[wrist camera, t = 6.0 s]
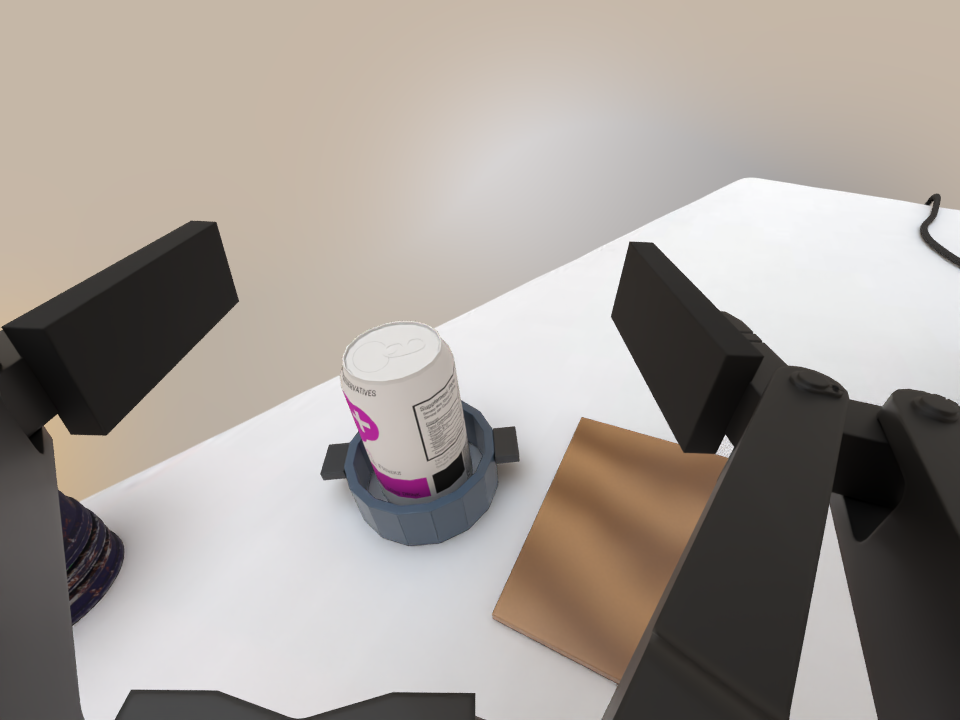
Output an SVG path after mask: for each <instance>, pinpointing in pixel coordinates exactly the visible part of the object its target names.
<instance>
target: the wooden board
mask: <svg viewBox="0 0 960 720" xmlns="http://www.w3.org/2000/svg"><path fill="white" fill-rule="evenodd" d="M727 460H728V458H727V457H723V456H719V455H716V454H700V453H683V451H682V449H681V447H680V445H679V444H677V443H673V442H669V441H666V440H662V439H659V438H655V437H652V436H648V435H644V434H641V433H637V432H634V431H630V430H627V429H623V428H619V427H616V426H612V425H609V424H605V423H602V422H598V421H594V420H591V419H587V418H584V417H582V418H581V420H580V422H579V424H578V426H577V429H576V431H575V433H574V435H573V437H572V440H571V442H570V444H569V446H568V448H567V451H566V453H565V455H564V457H563V459H562V462H561V464H560V466H559V468H558V470H557V473H556V475H555V477H554V479H553V481H552V483H551V486H550V488H549V490H548V492H547V494H546V497H545V499H544V501H543V503H542V505H541V508H540V510H539V512H538V514H537V516H536V519H535V521H534V523H533V525H532V527H531V530H530V532H529V534H528V536H527V538H526V541H525V543H524V545H523V547H522V549H521V552H520V554H519V556H518V558H517V560H516V563H515V565H514V567H513V569H512V571H511V574H510V576H509V578H508V580H507V582H506V584H505V587H504V589H503V591H502V593H501V595H500V598H499V600H498V602H497V604H496V606H495V609H494V611H493V613H492V615H493V619H495V620H497V621H499V622H500V623H502V624H504V625H506V626H508V627H510V628H512V629H514V630H516V631H518V632H520V633H522V634H524V635H525V636H527V637H529V638H531V639H533V640H535V641H537V642H539V643H541V644H543V645H545V646H547V647H548V648H550V649H552V650H554V651H556V652H558V653H560V654H562V655H564V656H566V657H568V658H570V659H572V660H573V661H575V662H577V663H579V664H581V665H583V666H585V667H587V668H589V669H591V670H593V671H595V672H596V673H598V674H600V675H602V676H604V677H606V678H608V679H610V680H612V681H614V682H616V683H618V684H619V683H620V681H621V679H622V676H623V674H624V672H625V670H626V668H627V666H628V664H629V662H630V660H631V658H632V656H633V654H634V652H635V650H636V648H637V646H638V644H639V641H640V639H641V637H642V635H643V633H644V631H645V629H646V627H647V625H648V623H649V621H650V619H651V617H652V615H653V613H654V611H655V609H656V606H657V604H658V602H659V600H660V598H661V596H662V594H663V592H664V590H665V588H666V586H667V584H668V582H669V580H670V578H671V576H672V573H673V571H674V569H675V567H676V565H677V563H678V561H679V559H680V557H681V555H682V553H683V551H684V549H685V547H686V545H687V543H688V541H689V538H690V536H691V534H692V532H693V530H694V528H695V526H696V524H697V522H698V520H699V518H700V516H701V514H702V512H703V510H704V508H705V506H706V503H707V501H708V499H709V497H710V495H711V493H712V491H713V489H714V487H715V485H716V483H717V479H718V477H719V475H720V473H721V471H722V470H723V468H724V466H725V464H726V462H727Z"/></svg>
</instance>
